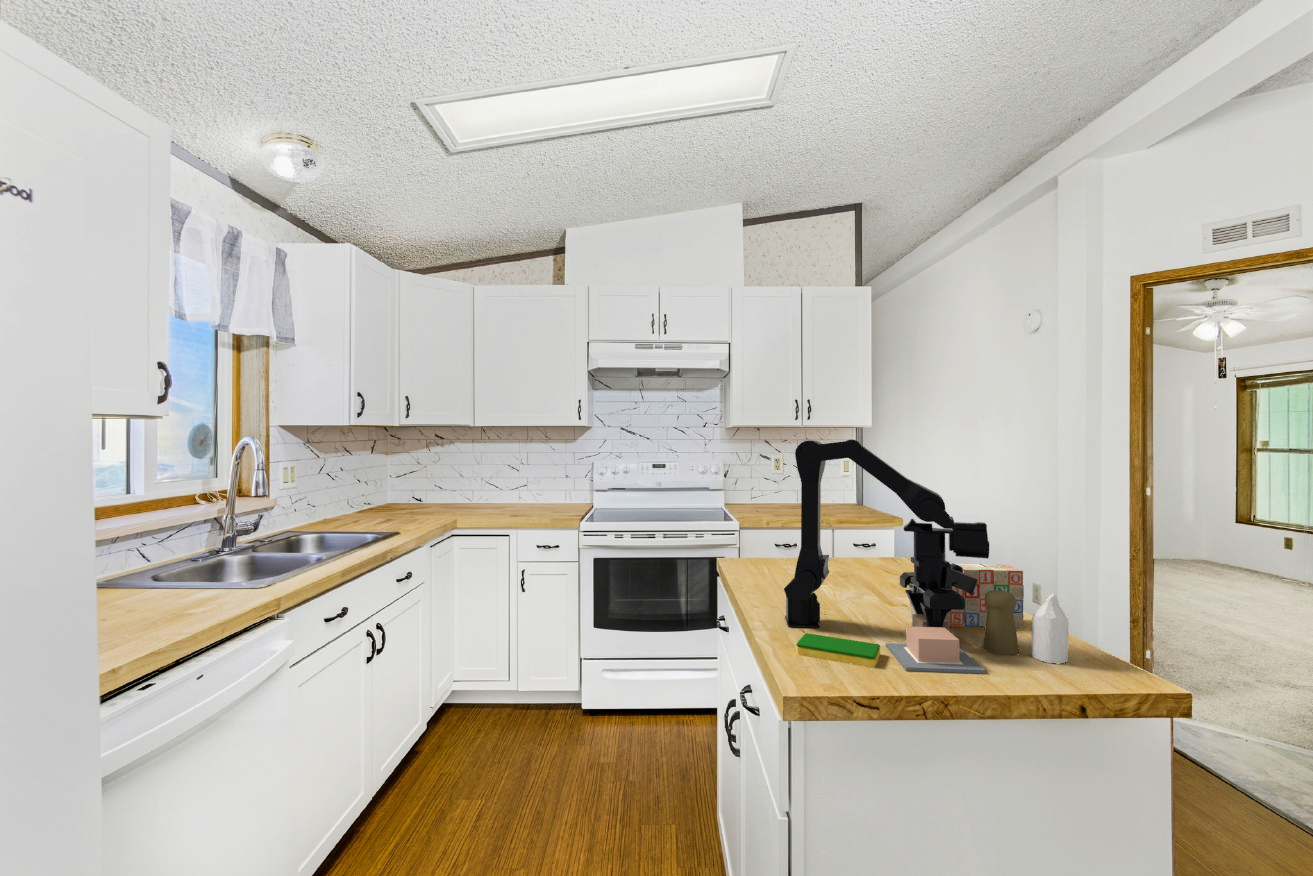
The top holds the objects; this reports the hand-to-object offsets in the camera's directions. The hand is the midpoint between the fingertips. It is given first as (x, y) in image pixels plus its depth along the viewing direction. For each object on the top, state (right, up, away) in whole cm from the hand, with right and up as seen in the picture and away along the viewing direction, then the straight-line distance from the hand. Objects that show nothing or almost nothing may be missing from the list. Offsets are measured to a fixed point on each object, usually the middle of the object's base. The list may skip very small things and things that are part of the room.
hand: (930, 632), depth 114 cm
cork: (+10, -1, -6) cm, 12 cm away
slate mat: (-5, -1, -11) cm, 12 cm away
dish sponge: (-21, -2, -8) cm, 22 cm away
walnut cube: (0, -1, 0) cm, 1 cm away
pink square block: (-5, -1, -11) cm, 12 cm away
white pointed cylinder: (+17, -1, -10) cm, 20 cm away
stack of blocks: (+13, -2, +11) cm, 17 cm away
